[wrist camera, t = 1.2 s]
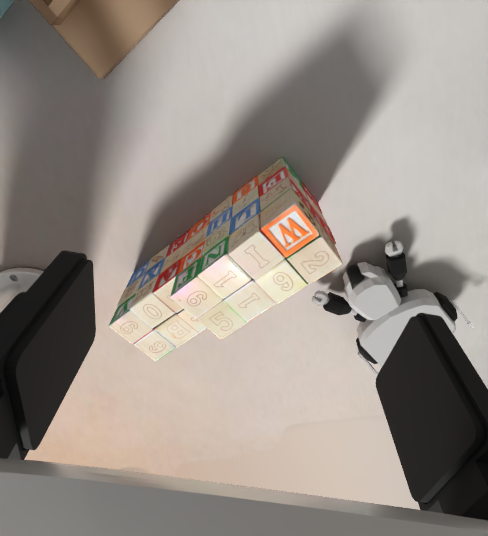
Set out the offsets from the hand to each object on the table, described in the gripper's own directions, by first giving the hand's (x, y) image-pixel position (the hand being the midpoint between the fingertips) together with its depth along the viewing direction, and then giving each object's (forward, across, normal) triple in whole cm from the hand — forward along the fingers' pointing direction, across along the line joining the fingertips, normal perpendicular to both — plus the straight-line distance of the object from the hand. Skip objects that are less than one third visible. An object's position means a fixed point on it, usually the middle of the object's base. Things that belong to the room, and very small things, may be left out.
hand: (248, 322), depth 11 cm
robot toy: (+28, -19, +17) cm, 37 cm away
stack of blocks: (+27, +1, +12) cm, 30 cm away
